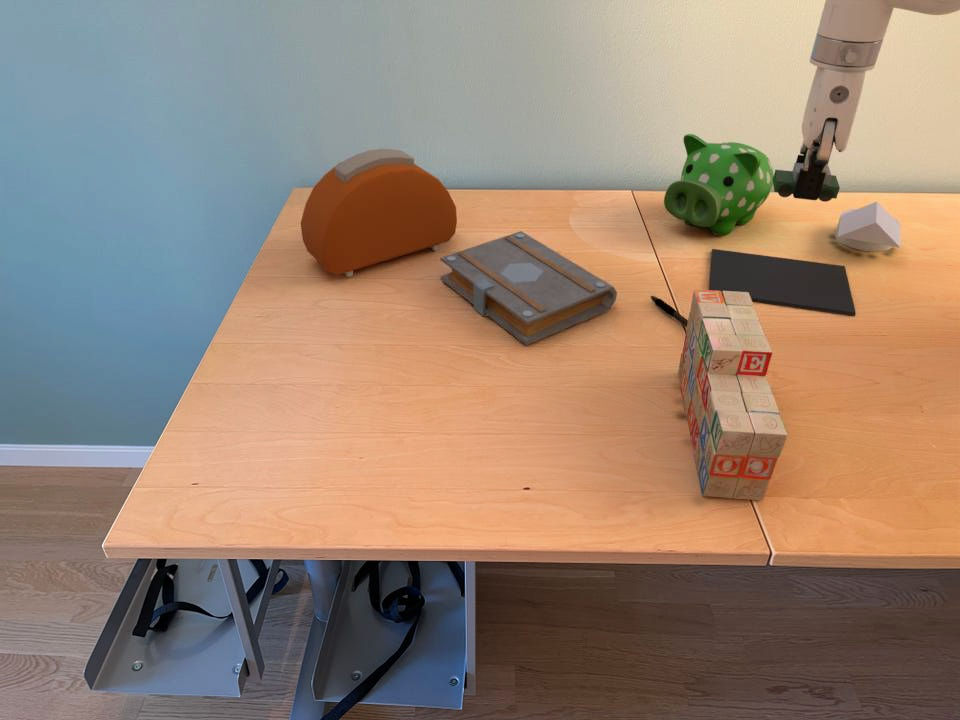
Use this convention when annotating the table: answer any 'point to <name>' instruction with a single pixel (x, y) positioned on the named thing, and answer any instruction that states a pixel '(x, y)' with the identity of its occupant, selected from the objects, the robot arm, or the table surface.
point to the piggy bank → (719, 185)
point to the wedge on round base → (869, 229)
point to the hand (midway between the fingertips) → (804, 189)
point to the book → (527, 286)
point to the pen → (669, 310)
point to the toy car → (787, 181)
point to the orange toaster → (375, 212)
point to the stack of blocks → (729, 396)
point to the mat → (783, 281)
